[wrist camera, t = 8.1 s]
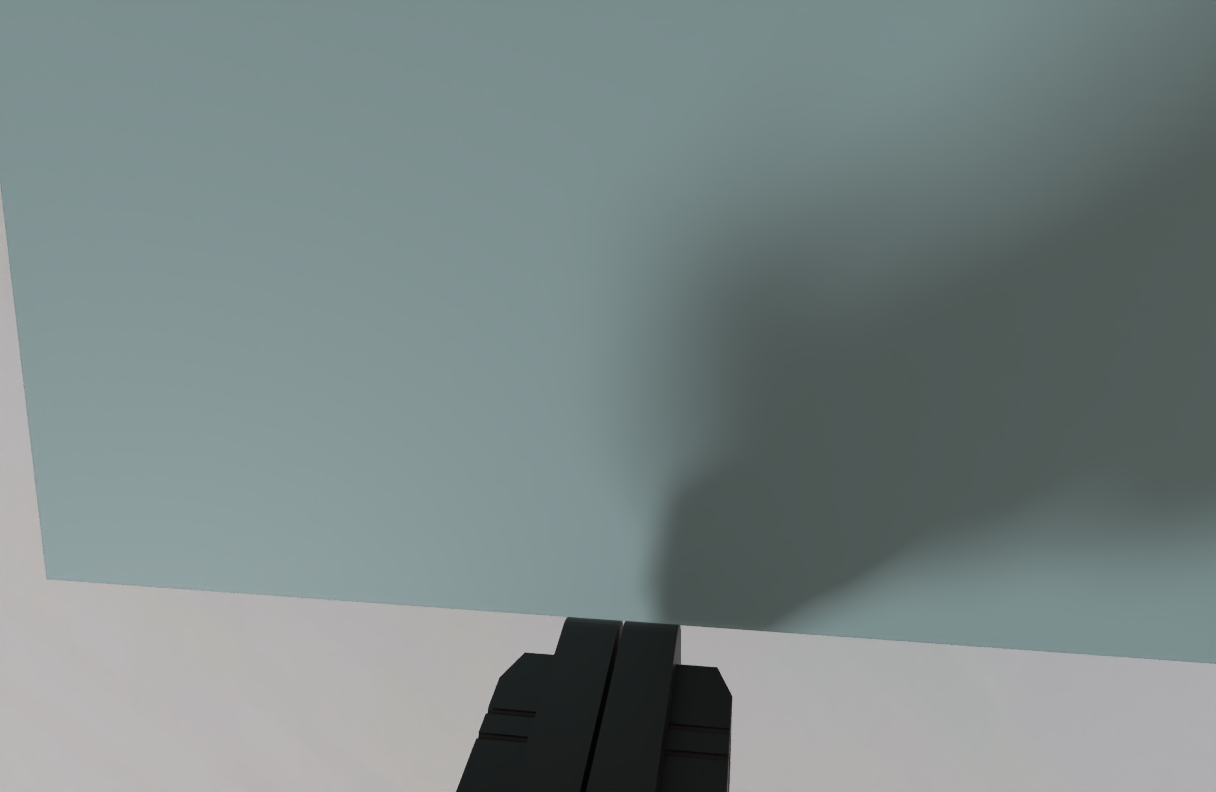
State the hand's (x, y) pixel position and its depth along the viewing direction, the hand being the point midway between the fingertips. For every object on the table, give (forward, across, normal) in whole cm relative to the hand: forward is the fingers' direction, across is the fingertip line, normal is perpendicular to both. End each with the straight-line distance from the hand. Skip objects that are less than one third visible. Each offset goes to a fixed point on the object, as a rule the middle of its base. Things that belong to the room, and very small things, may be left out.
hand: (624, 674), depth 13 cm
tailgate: (+5, 0, -11) cm, 12 cm away
